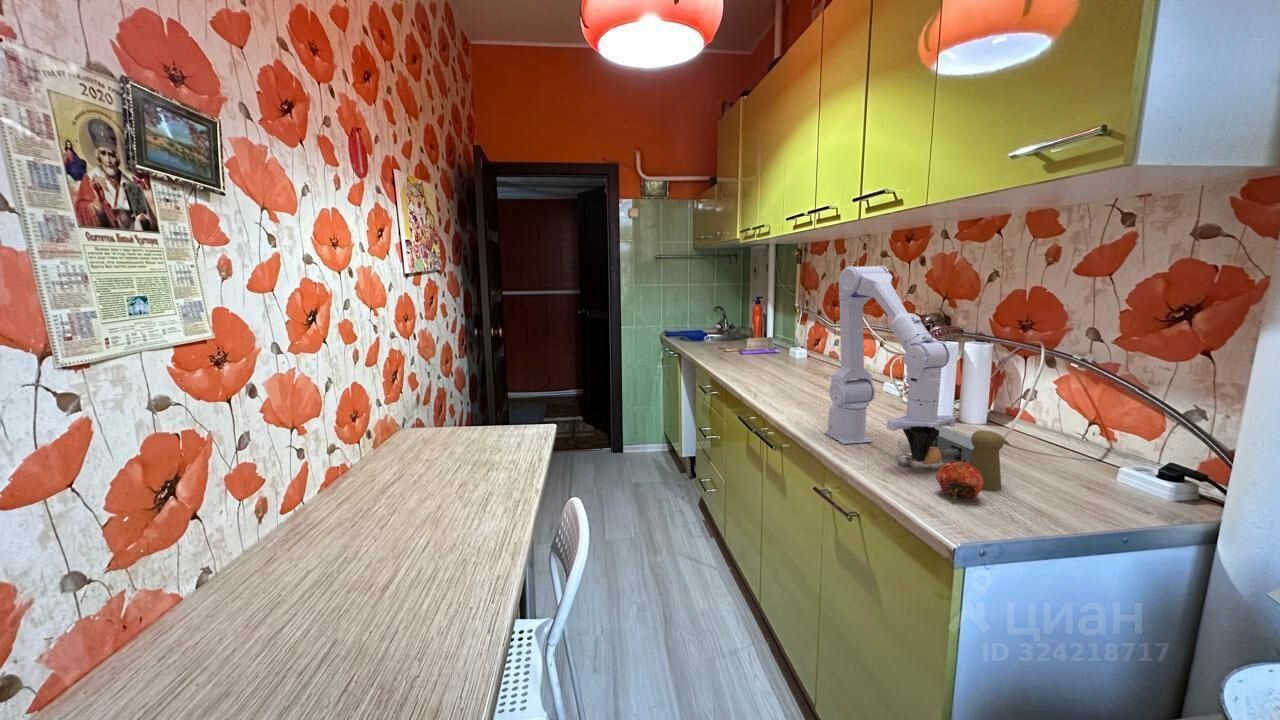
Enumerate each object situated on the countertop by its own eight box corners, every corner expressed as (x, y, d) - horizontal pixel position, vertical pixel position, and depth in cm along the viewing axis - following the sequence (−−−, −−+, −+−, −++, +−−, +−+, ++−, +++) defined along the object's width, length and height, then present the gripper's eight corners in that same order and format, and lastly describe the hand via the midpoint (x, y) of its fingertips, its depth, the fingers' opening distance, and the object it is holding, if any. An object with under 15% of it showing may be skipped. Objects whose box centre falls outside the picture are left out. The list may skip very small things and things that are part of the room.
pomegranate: (979, 520, 89) (995, 476, 93) (967, 495, 86) (984, 451, 90) (935, 509, 95) (952, 468, 99) (922, 486, 92) (941, 445, 96)
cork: (1008, 491, 95) (1014, 436, 93) (977, 491, 95) (982, 437, 94) (987, 478, 101) (993, 427, 99) (958, 478, 101) (962, 427, 100)
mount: (917, 449, 119) (919, 427, 118) (938, 447, 119) (940, 426, 118) (971, 475, 103) (973, 450, 102) (994, 473, 104) (997, 448, 103)
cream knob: (897, 449, 115) (898, 435, 114) (934, 447, 116) (935, 432, 115) (907, 455, 111) (908, 440, 110) (945, 452, 112) (946, 437, 112)
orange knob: (918, 460, 108) (919, 445, 107) (957, 457, 109) (958, 442, 109) (930, 466, 104) (931, 450, 104) (970, 463, 106) (971, 447, 105)
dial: (895, 463, 110) (895, 454, 110) (905, 462, 111) (906, 453, 110) (903, 467, 108) (903, 458, 108) (913, 466, 108) (914, 457, 108)
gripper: (904, 405, 98) (899, 469, 101) (968, 401, 100) (963, 464, 103) (882, 397, 105) (878, 457, 108) (943, 393, 107) (938, 452, 110)
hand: (918, 459), depth 106 cm, fingers closed
